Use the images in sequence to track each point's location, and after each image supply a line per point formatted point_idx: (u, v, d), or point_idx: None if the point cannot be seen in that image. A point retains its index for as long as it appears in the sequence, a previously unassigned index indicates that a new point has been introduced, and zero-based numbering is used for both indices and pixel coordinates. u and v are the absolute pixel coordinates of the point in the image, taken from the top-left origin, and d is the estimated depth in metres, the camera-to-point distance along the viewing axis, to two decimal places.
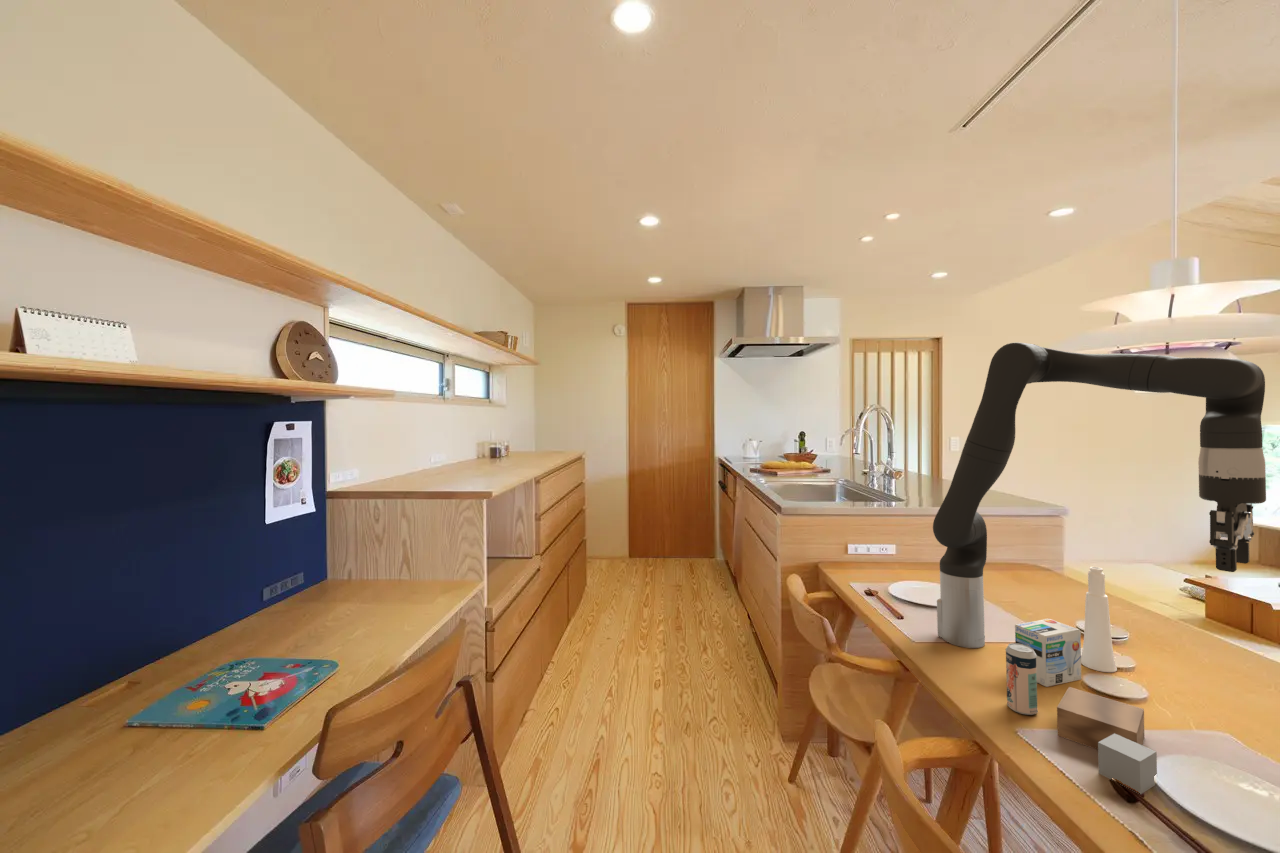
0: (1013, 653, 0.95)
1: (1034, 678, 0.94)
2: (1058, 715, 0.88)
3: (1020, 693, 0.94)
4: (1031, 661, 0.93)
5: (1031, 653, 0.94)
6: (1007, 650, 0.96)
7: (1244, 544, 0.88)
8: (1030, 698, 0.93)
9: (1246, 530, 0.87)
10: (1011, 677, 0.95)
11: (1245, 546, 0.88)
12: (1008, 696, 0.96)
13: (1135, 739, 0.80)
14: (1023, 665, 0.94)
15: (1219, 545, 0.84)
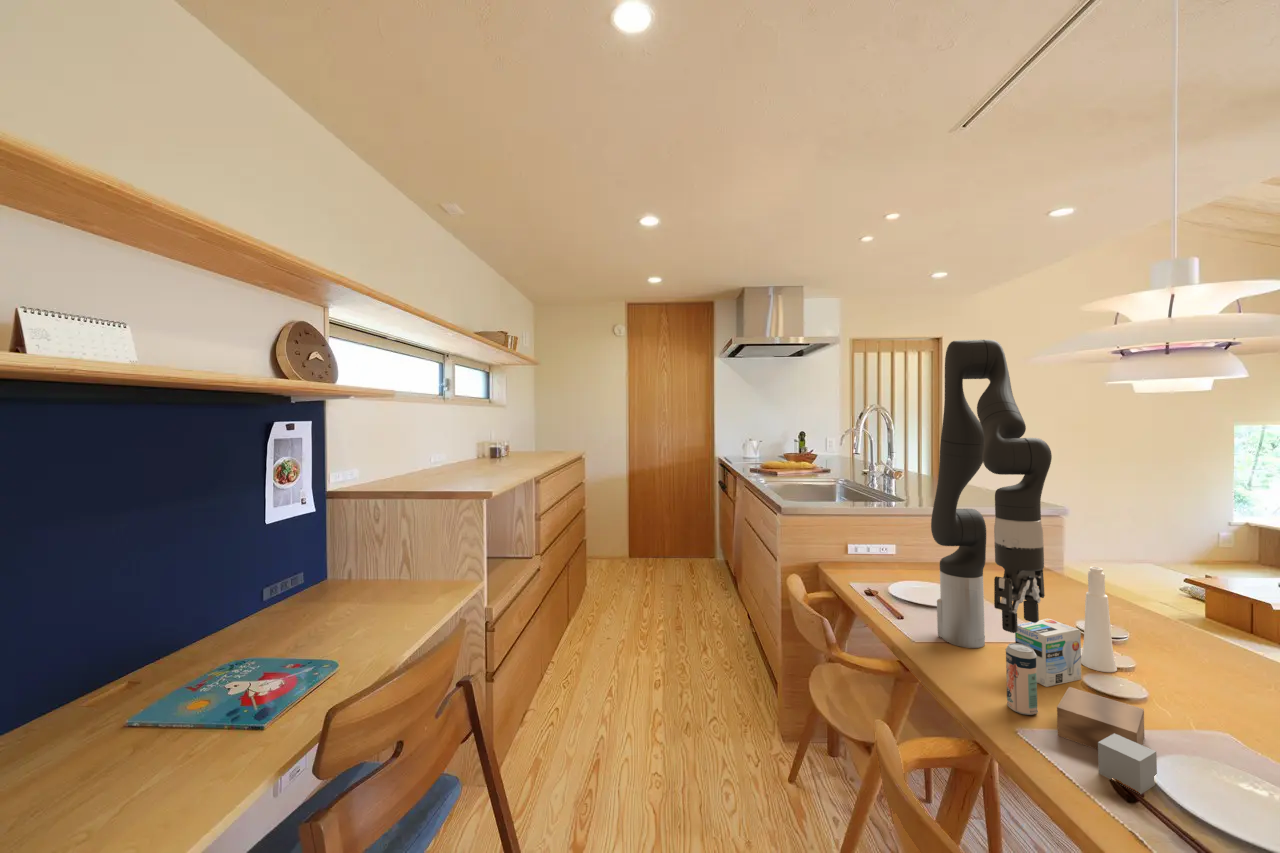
0: (1013, 653, 0.95)
1: (1034, 678, 0.94)
2: (1058, 715, 0.88)
3: (1020, 693, 0.94)
4: (1031, 661, 0.93)
5: (1031, 653, 0.94)
6: (1007, 650, 0.96)
7: (1033, 605, 0.97)
8: (1030, 698, 0.93)
9: (1033, 593, 0.96)
10: (1011, 677, 0.95)
11: (1034, 607, 0.97)
12: (1008, 696, 0.96)
13: (1135, 739, 0.80)
14: (1023, 665, 0.94)
15: (1001, 609, 0.92)
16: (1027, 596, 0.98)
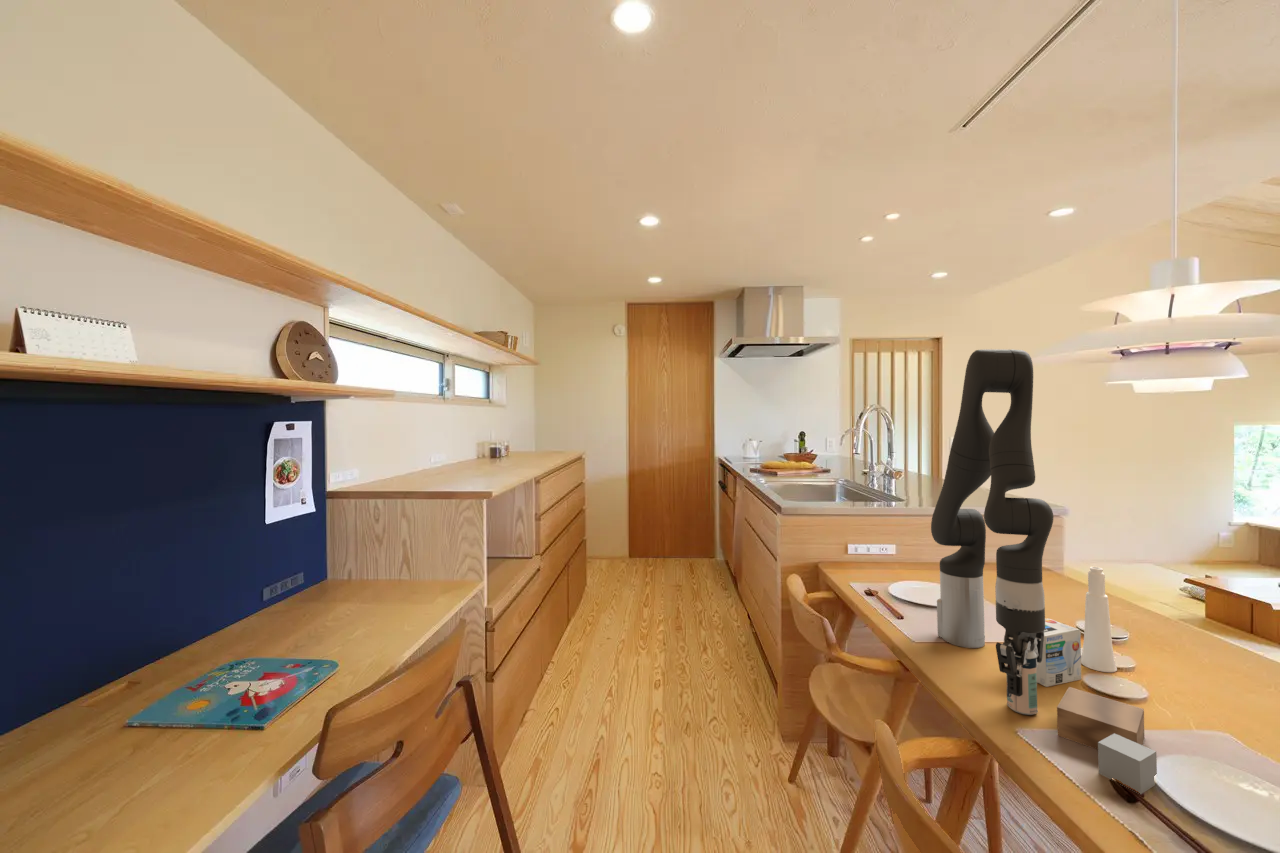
0: None
1: (1034, 678, 0.94)
2: (1058, 715, 0.88)
3: None
4: (1031, 661, 0.93)
5: (1031, 653, 0.94)
6: None
7: None
8: (1030, 698, 0.93)
9: None
10: None
11: None
12: (1008, 696, 0.96)
13: (1135, 739, 0.80)
14: None
15: (1006, 673, 0.93)
16: None
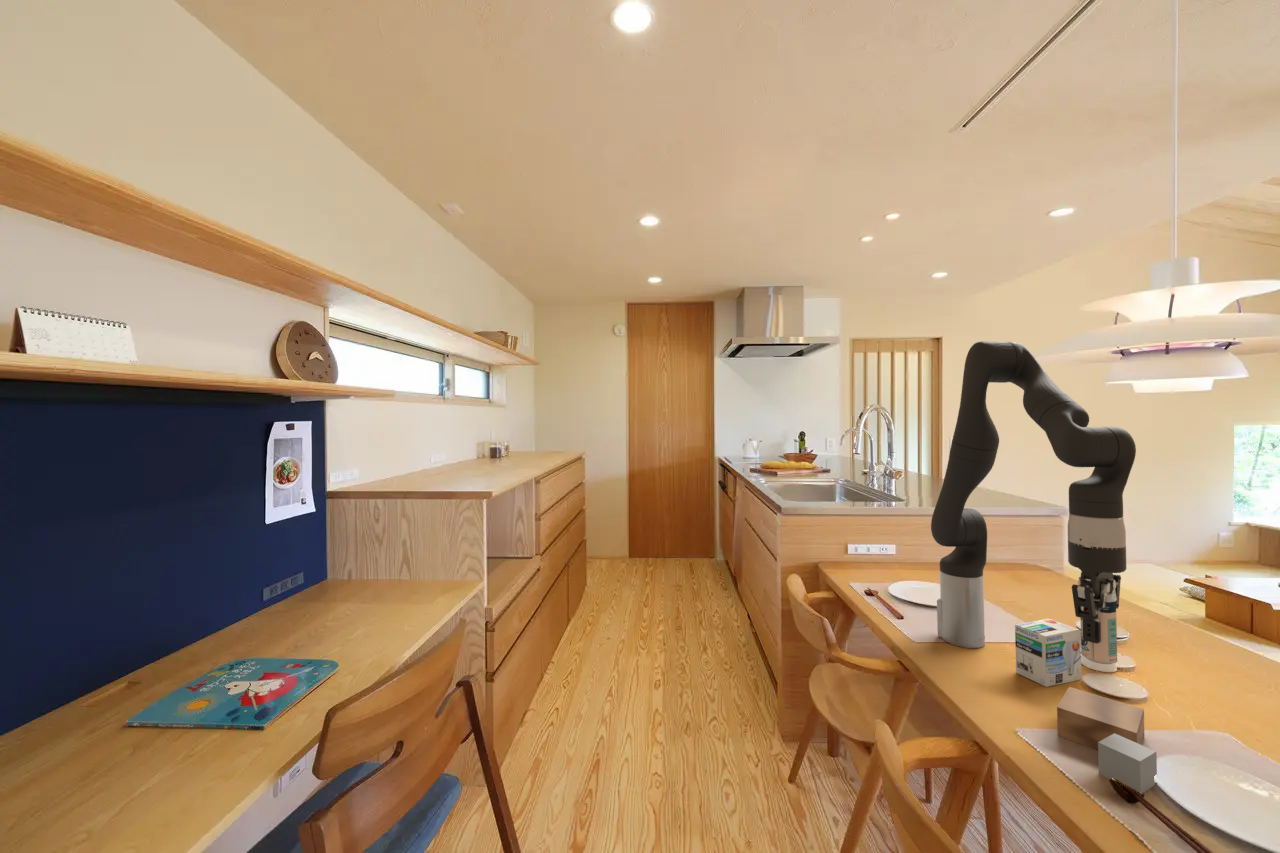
0: None
1: (1114, 623, 0.85)
2: (1058, 715, 0.88)
3: None
4: (1111, 604, 0.85)
5: (1110, 596, 0.85)
6: None
7: None
8: (1110, 645, 0.85)
9: None
10: None
11: None
12: (1083, 645, 0.88)
13: (1135, 739, 0.80)
14: (1102, 609, 0.85)
15: (1083, 617, 0.85)
16: None
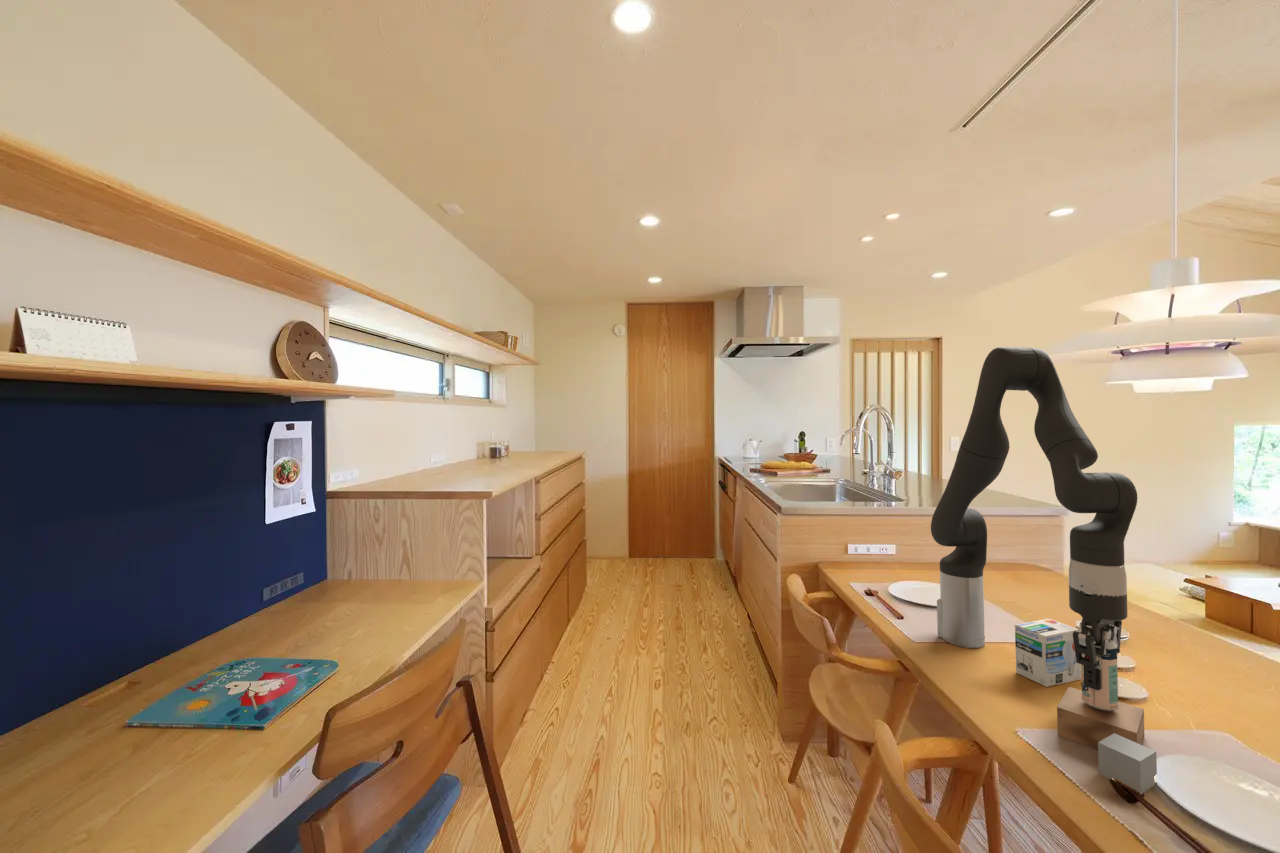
0: None
1: (1115, 670, 0.85)
2: (1058, 715, 0.88)
3: None
4: (1112, 651, 0.85)
5: (1112, 643, 0.85)
6: None
7: None
8: (1111, 692, 0.85)
9: None
10: None
11: None
12: (1084, 690, 0.88)
13: (1135, 739, 0.80)
14: (1103, 656, 0.85)
15: (1084, 664, 0.85)
16: None
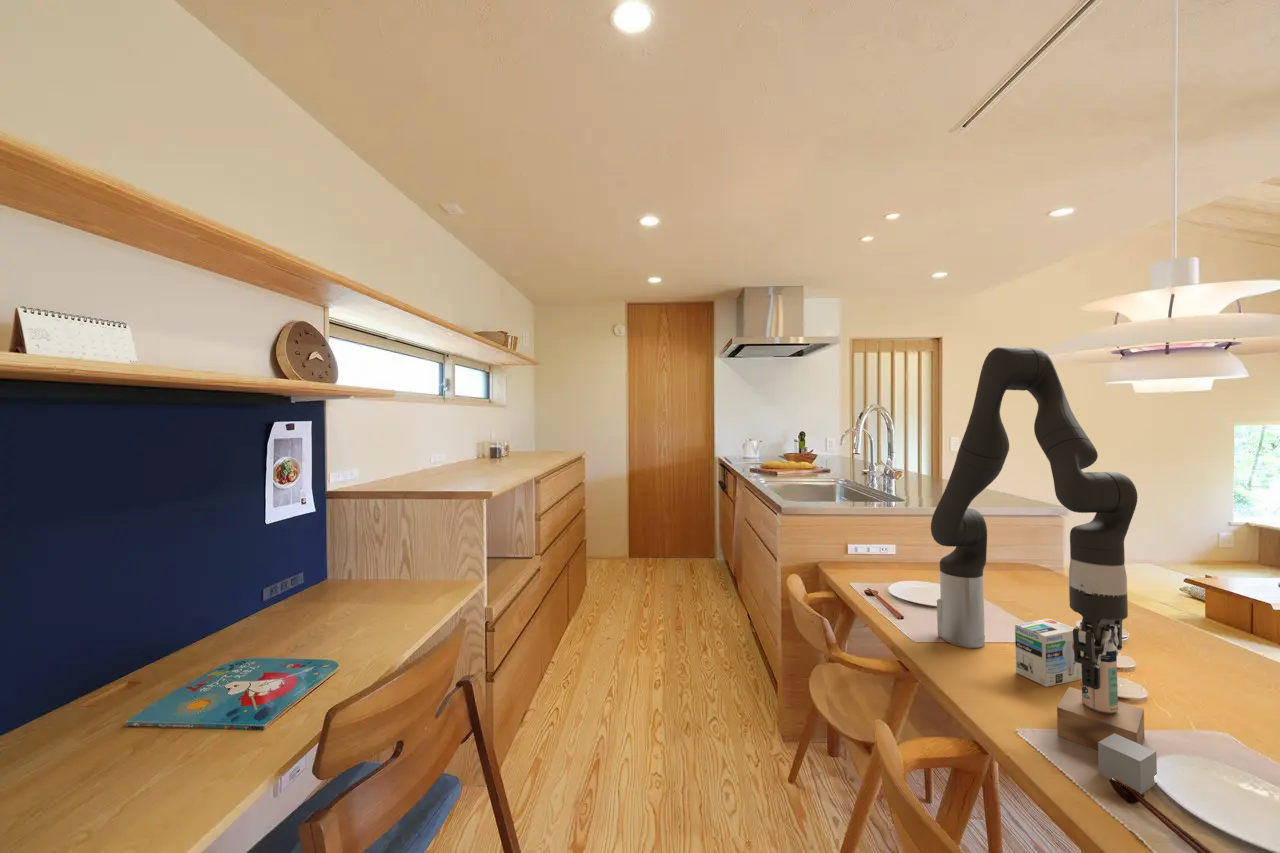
0: None
1: (1114, 672, 0.85)
2: (1058, 715, 0.88)
3: (1099, 689, 0.86)
4: (1111, 653, 0.85)
5: (1111, 645, 0.85)
6: None
7: None
8: (1110, 694, 0.85)
9: None
10: None
11: None
12: (1084, 692, 0.88)
13: (1135, 739, 0.80)
14: (1103, 658, 0.85)
15: (1082, 663, 0.84)
16: None
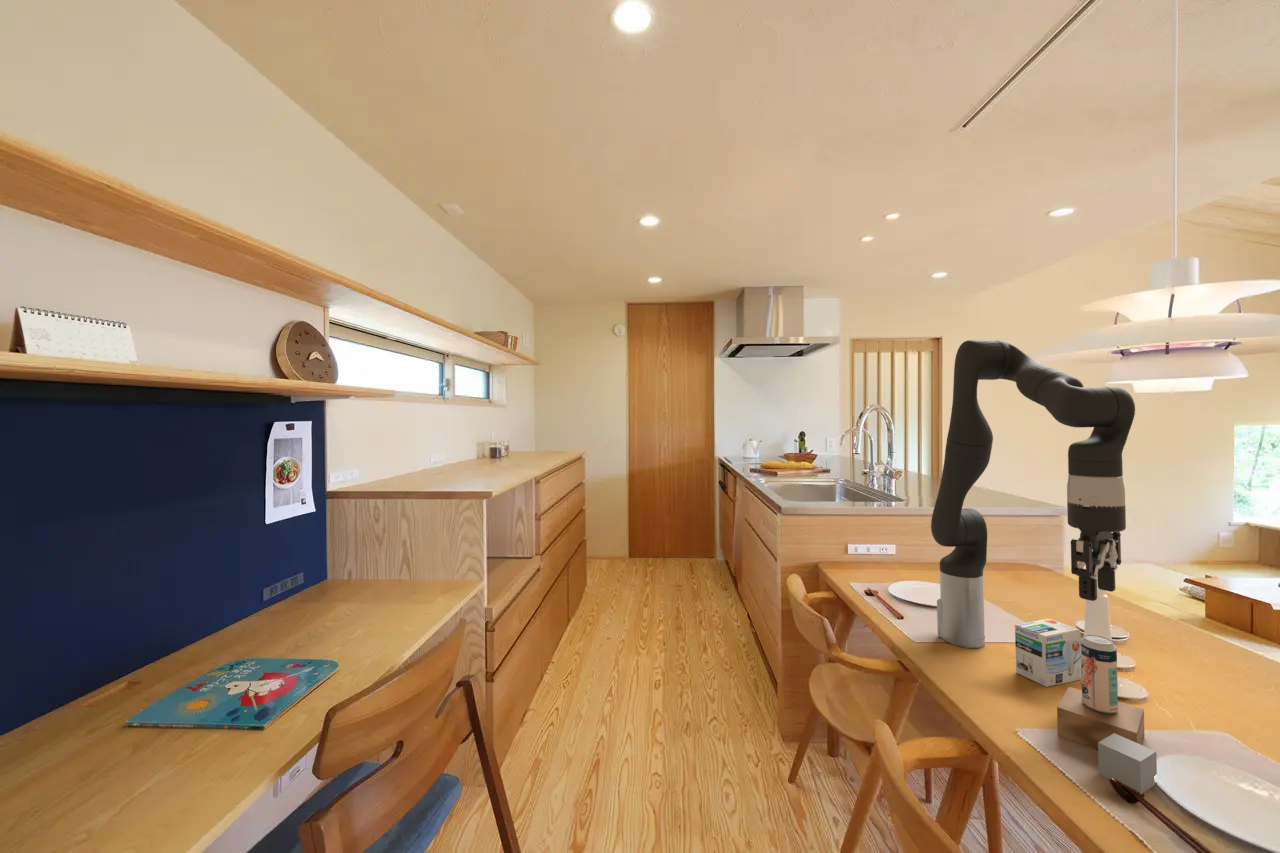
0: (1090, 645, 0.87)
1: (1115, 673, 0.85)
2: (1058, 715, 0.88)
3: (1099, 689, 0.86)
4: (1111, 654, 0.85)
5: (1111, 645, 0.85)
6: (1083, 642, 0.88)
7: (1110, 572, 0.88)
8: (1110, 695, 0.85)
9: (1110, 558, 0.87)
10: (1088, 672, 0.87)
11: (1111, 574, 0.88)
12: (1084, 693, 0.88)
13: (1135, 739, 0.80)
14: (1103, 658, 0.85)
15: (1079, 574, 0.84)
16: None
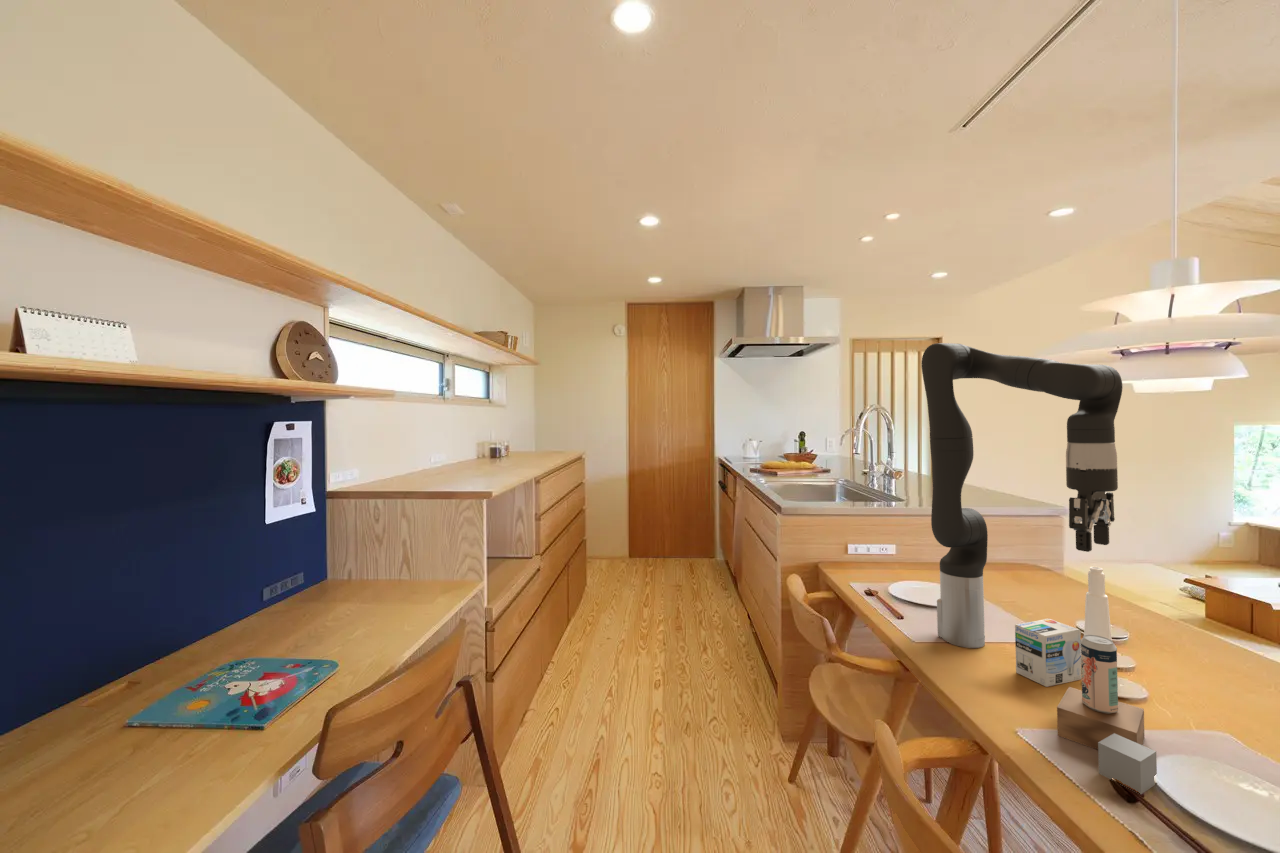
0: (1090, 645, 0.87)
1: (1115, 673, 0.85)
2: (1058, 715, 0.88)
3: (1099, 689, 0.86)
4: (1111, 654, 0.85)
5: (1111, 645, 0.85)
6: (1083, 642, 0.88)
7: (1104, 528, 1.00)
8: (1110, 695, 0.85)
9: (1104, 515, 0.99)
10: (1088, 672, 0.87)
11: (1105, 530, 1.00)
12: (1084, 693, 0.88)
13: (1135, 739, 0.80)
14: (1103, 658, 0.85)
15: (1076, 528, 0.95)
16: (1097, 520, 1.01)
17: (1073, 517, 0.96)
